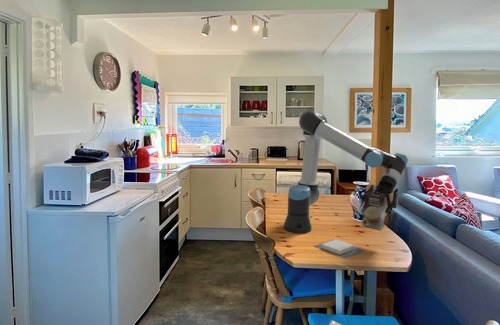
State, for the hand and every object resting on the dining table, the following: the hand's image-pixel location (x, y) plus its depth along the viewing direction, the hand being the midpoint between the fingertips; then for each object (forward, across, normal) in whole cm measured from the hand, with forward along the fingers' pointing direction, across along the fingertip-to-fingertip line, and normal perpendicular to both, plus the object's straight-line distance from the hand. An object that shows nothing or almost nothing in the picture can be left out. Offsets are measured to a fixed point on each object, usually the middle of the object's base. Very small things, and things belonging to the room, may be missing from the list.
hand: (370, 215), depth 157 cm
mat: (+21, +7, -1) cm, 22 cm away
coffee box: (+2, 0, -7) cm, 7 cm away
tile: (+17, +7, -3) cm, 18 cm away
